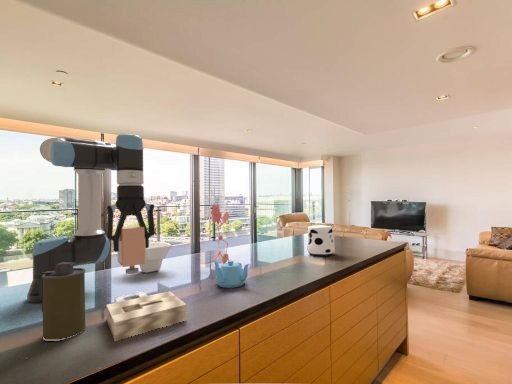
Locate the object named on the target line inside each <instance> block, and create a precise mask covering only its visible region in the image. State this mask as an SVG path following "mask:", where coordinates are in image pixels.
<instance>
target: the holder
mask: <svg viewBox="0 0 512 384" xmlns="http://www.w3.org/2000/svg"><path fill="white" fill-rule="evenodd" d="M145 296H148V294H147V293H146V292H145V291H139V292H135V293H134V292H133V293H130V294H126V295H125V294H124V295H120V296H116V297H114V303H117V302H122V301H126V300H131V299H136V298H140V297H145Z"/></svg>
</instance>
